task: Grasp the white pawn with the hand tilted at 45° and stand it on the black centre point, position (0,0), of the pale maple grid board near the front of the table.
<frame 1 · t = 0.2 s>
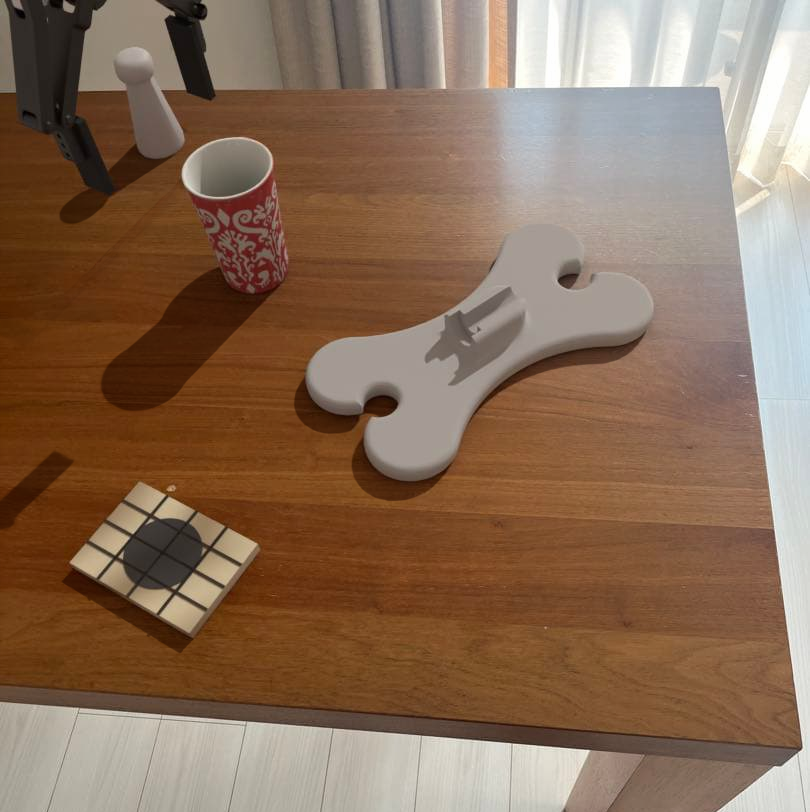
hand: (152, 140, 76), 22 cm above the table, tool pointing down, fingers open, 13 cm apart
grid board: (167, 559, 80), on the table
mug: (260, 260, 99), on the table
white pawn: (167, 158, 109), on the table
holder: (480, 349, 90), on the table
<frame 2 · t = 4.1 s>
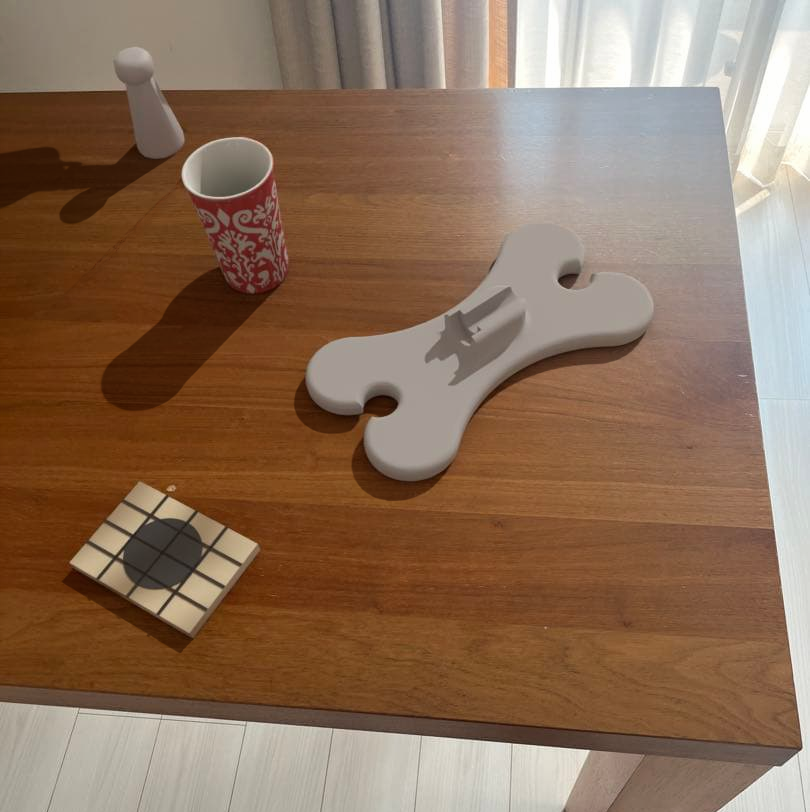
nothing on the table moved.
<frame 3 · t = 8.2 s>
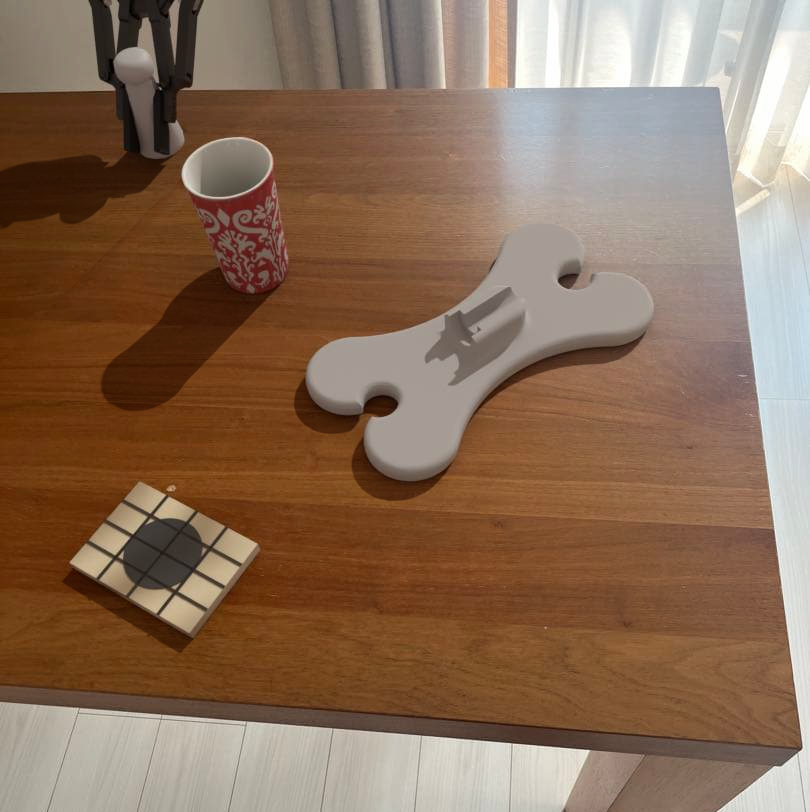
hand: (147, 152, 104), 4 cm above the table, tool tilted 45°, fingers closed on white pawn, 3 cm apart
white pawn: (166, 158, 109), on the table, touching gripper
everything else where it was.
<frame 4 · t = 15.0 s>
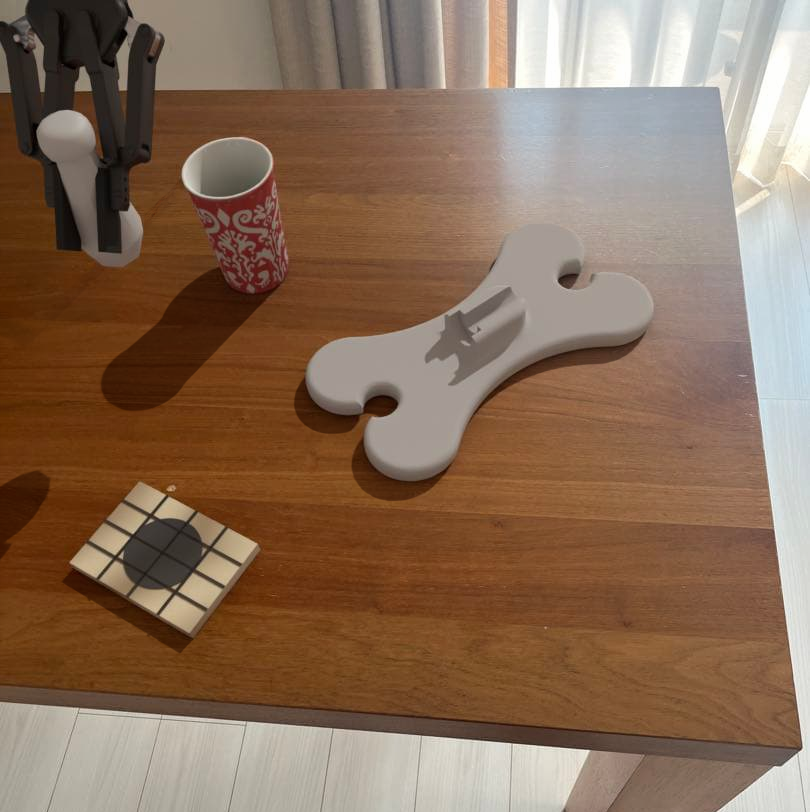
hand: (89, 251, 75), 18 cm above the table, tool tilted 45°, fingers closed on white pawn, 3 cm apart
white pawn: (120, 253, 80), point 14 cm above the table, touching gripper
everything else where it was.
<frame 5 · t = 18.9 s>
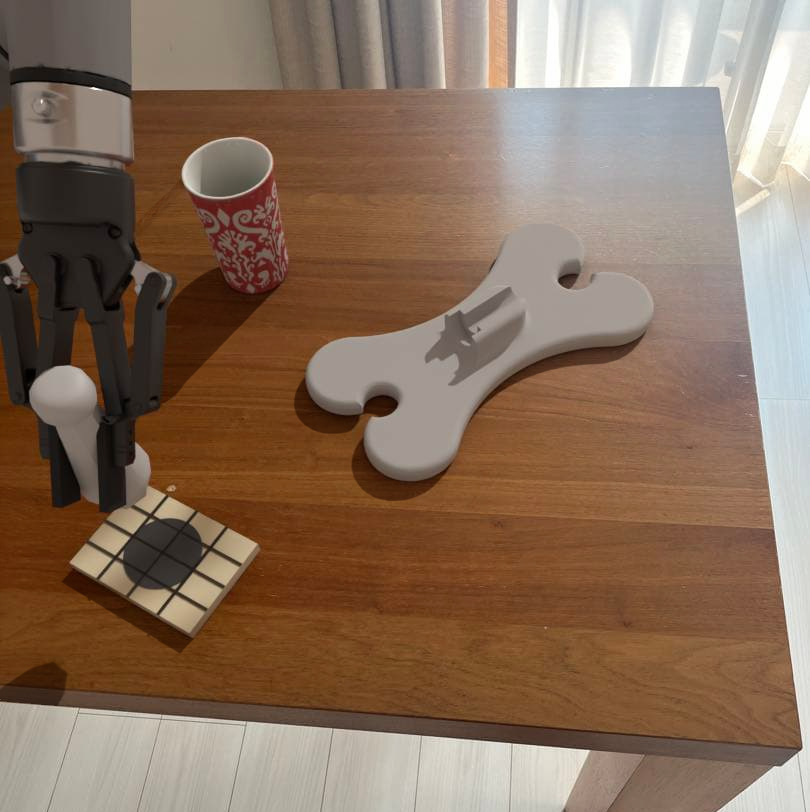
hand: (89, 505, 66), 15 cm above the table, tool tilted 45°, fingers closed on white pawn, 3 cm apart
white pawn: (125, 489, 71), point 11 cm above the table, touching gripper
everything else where it was.
when the fingers open (5 cm above the table, at t = 21.7 s): white pawn stays where it is, resting on grid board.
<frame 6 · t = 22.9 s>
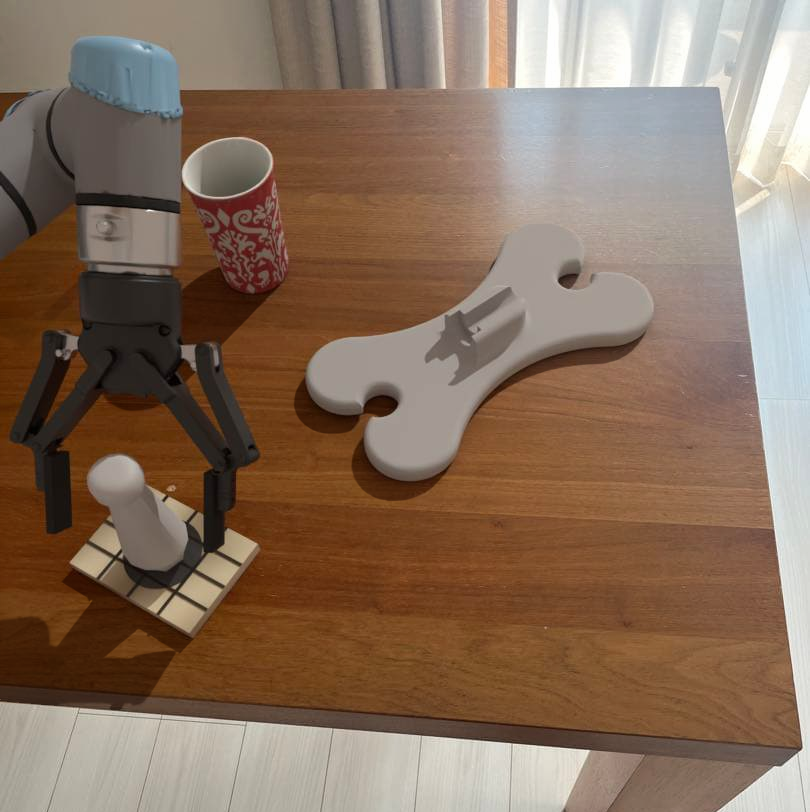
hand: (135, 539, 73), 7 cm above the table, tool tilted 45°, fingers open, 13 cm apart
white pawn: (163, 553, 79), point 1 cm above the table, touching grid board
everything else where it was.
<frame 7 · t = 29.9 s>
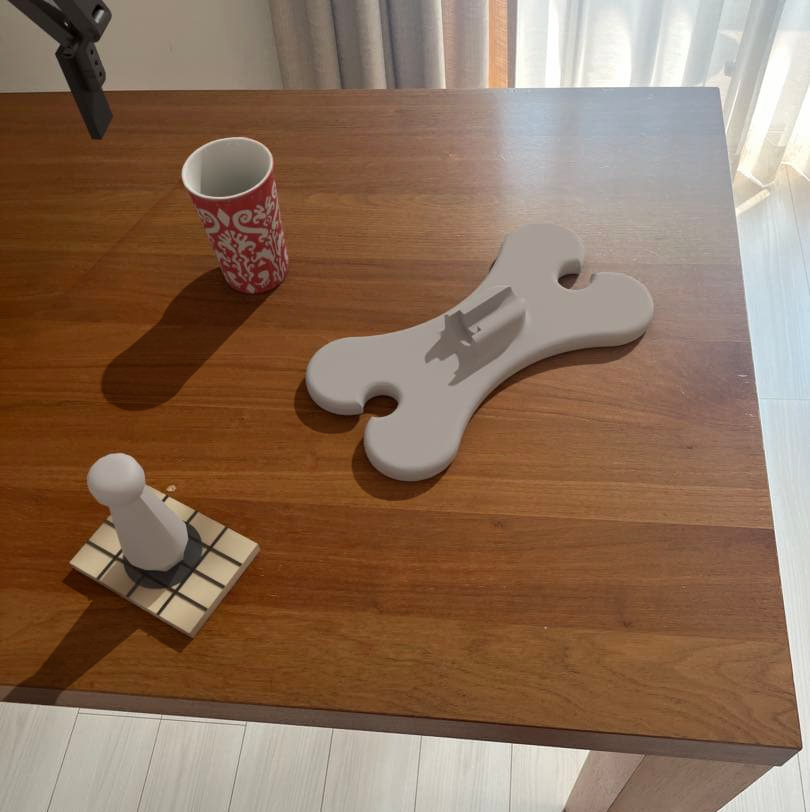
hand: (18, 125, 67), 29 cm above the table, tool pointing down, fingers open, 13 cm apart
nothing on the table moved.
at the end: white pawn 0.1 cm off-centre on the grid board, point 1.1 cm above the grid board's base; white pawn tilted 0°; the gripper is holding nothing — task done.
